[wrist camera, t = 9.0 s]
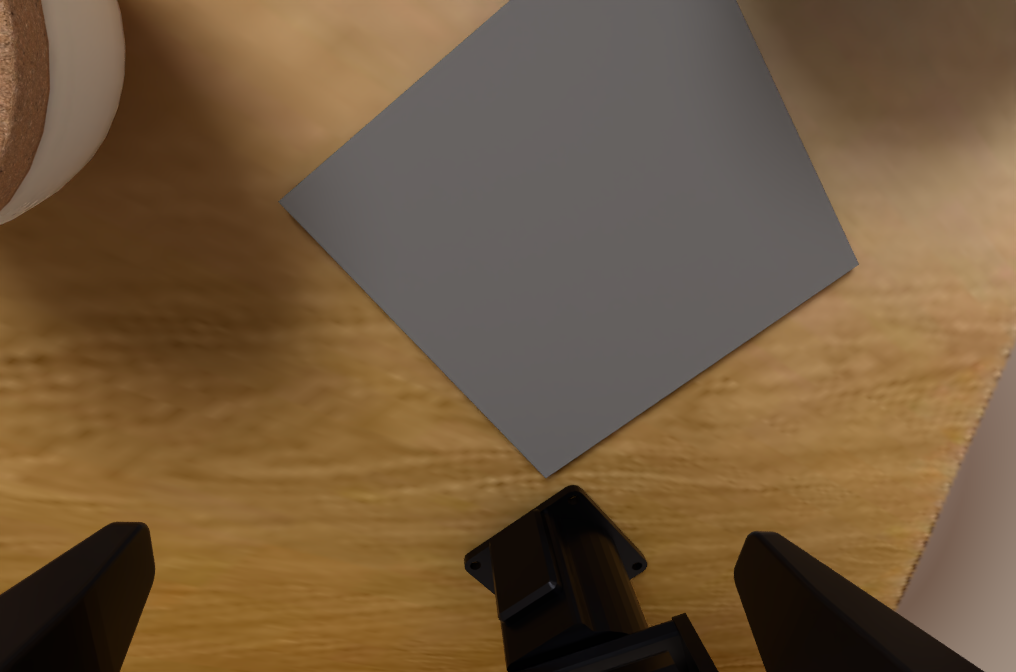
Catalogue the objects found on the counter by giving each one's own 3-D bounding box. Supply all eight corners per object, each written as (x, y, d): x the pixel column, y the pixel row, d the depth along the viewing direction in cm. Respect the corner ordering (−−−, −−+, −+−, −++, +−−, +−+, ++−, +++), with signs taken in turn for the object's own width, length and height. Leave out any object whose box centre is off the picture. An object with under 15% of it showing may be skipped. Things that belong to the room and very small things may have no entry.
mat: (850, 260, 22) (858, 264, 21) (543, 471, 24) (546, 478, 24) (664, -134, 16) (671, -140, 15) (281, 198, 18) (278, 201, 18)
